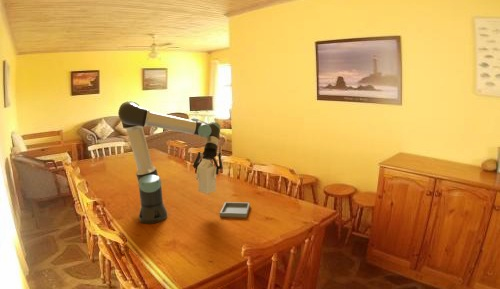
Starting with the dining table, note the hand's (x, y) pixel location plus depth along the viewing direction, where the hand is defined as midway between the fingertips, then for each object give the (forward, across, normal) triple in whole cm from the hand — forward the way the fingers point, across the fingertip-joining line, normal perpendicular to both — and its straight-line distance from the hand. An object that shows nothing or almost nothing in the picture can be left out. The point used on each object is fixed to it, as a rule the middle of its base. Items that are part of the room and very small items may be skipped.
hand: (205, 179), depth 169 cm
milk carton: (+4, 0, -8) cm, 9 cm away
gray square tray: (+12, -16, -17) cm, 26 cm away
